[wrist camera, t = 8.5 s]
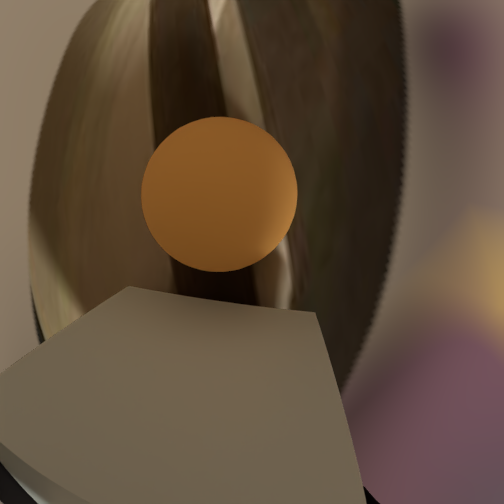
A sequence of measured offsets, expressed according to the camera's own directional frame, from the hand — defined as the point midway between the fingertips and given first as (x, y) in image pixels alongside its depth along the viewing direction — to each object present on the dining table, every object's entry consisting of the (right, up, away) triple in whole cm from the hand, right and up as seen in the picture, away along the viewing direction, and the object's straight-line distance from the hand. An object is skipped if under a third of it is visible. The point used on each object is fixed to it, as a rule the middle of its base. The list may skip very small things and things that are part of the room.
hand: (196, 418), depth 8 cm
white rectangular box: (0, 0, +3) cm, 3 cm away
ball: (+1, +8, 0) cm, 8 cm away
